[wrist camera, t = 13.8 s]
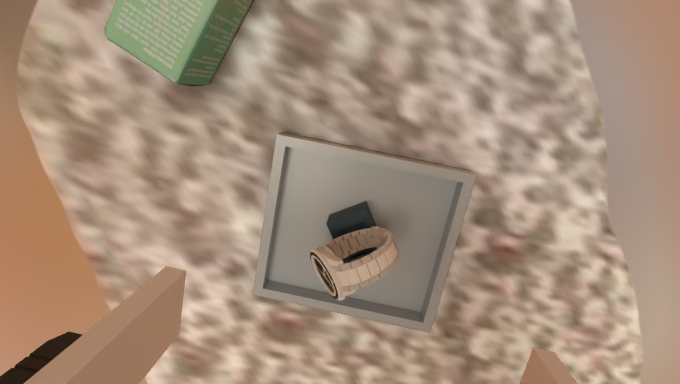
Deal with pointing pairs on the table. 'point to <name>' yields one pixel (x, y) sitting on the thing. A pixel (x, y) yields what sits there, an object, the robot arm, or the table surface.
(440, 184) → the tray
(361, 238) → the watch
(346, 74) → the table surface
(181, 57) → the box
